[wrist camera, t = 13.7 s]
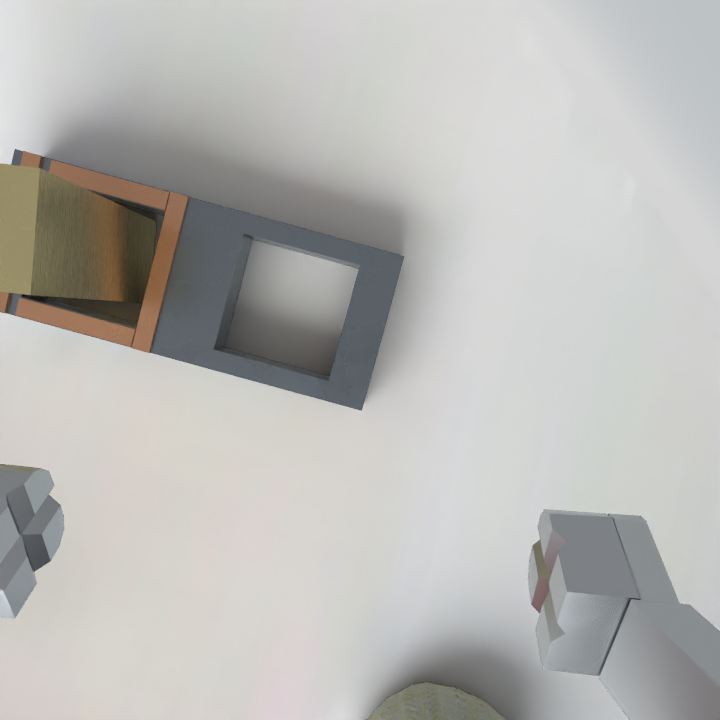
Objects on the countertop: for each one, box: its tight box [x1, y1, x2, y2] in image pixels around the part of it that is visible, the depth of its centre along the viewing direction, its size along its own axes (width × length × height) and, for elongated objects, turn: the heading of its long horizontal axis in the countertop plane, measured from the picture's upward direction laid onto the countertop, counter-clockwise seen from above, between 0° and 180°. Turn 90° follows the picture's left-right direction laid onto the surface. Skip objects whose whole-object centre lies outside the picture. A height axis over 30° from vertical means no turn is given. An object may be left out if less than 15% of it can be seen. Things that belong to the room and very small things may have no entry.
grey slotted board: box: [0, 149, 404, 411], centre depth 33 cm, size 20×8×3 cm, turn 75°
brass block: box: [0, 164, 157, 303], centre depth 28 cm, size 4×4×12 cm
